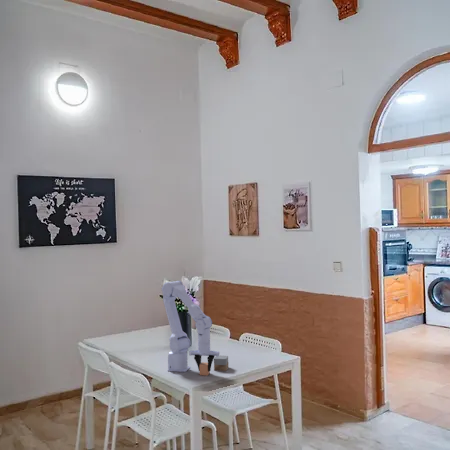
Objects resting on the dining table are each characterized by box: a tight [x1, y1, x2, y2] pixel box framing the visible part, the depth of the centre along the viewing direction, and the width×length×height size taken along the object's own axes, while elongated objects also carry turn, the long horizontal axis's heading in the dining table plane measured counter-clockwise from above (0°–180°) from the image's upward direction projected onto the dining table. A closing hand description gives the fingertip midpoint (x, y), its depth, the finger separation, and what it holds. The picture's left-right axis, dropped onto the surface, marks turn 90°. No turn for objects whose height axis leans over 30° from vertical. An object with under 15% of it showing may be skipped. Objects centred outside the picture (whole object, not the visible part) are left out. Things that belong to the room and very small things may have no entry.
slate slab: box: [213, 355, 229, 366], centre depth 243 cm, size 6×6×3 cm
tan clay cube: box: [198, 361, 211, 376], centre depth 234 cm, size 4×4×5 cm
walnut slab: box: [213, 362, 229, 372], centre depth 243 cm, size 6×6×3 cm
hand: (204, 370), depth 234 cm, fingers closed on tan clay cube, 4 cm apart
